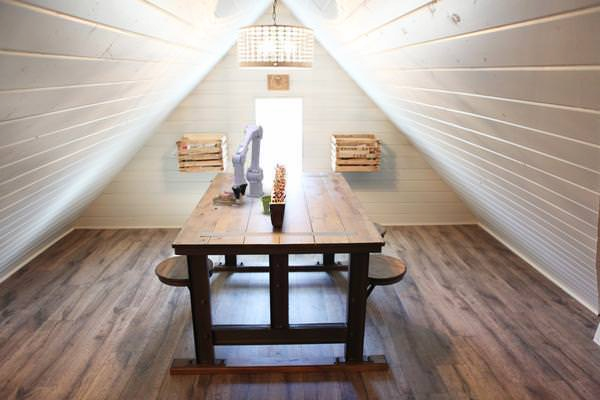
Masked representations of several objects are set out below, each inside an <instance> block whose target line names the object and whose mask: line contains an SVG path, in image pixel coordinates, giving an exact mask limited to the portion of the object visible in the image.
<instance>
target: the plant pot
mask: <svg viewBox="0 0 600 400" xmlns="http://www.w3.org/2000/svg"><path fill="white" fill-rule="evenodd" d="M260 200H261V202H262V208H263V213H264V214H267V215H271V214H270V211H269V203H270V202H271V194H270V195H269V194H268V195H262V196H260Z"/></svg>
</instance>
